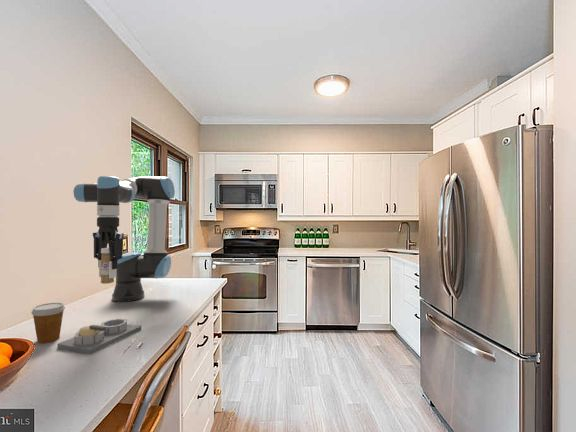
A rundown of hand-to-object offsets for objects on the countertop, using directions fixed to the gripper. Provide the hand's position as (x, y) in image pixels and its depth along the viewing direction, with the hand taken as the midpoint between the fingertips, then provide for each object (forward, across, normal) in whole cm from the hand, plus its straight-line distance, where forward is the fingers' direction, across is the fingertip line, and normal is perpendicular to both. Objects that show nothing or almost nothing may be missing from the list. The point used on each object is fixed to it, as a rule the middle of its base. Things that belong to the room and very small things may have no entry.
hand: (107, 277), depth 121 cm
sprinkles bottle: (+2, 0, 0) cm, 2 cm away
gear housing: (+21, +5, -6) cm, 22 cm away
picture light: (+21, +21, -8) cm, 31 cm away
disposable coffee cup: (+21, -12, -14) cm, 28 cm away
